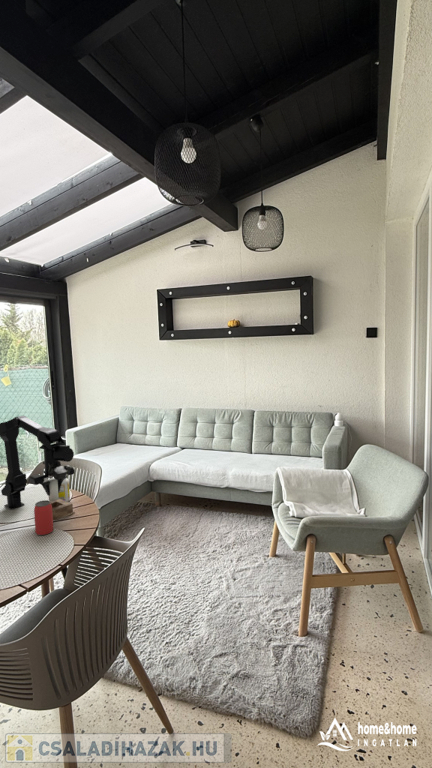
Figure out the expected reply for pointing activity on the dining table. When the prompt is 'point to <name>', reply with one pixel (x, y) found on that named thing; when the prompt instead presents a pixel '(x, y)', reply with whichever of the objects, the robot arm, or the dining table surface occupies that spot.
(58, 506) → the socket
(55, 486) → the peg
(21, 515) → the dining table surface
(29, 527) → the dining table surface
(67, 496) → the supplement bottle
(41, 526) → the beer can
